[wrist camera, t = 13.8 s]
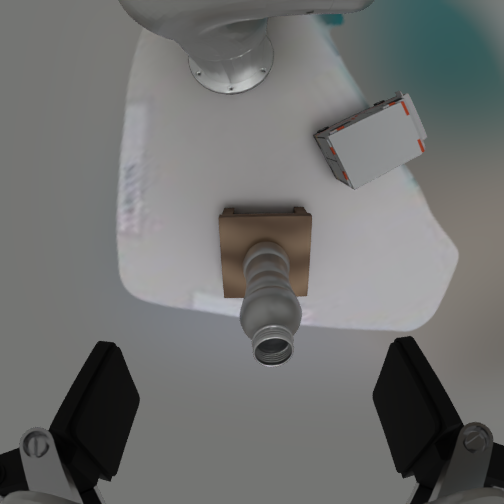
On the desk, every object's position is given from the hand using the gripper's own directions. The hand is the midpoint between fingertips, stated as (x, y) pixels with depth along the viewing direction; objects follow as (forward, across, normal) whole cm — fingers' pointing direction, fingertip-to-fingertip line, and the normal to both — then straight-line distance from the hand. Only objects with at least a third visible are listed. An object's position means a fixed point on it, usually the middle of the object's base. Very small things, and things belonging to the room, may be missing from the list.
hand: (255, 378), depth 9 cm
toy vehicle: (+39, -18, -8) cm, 44 cm away
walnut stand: (+38, -2, +10) cm, 40 cm away
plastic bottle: (+32, -2, +10) cm, 34 cm away
